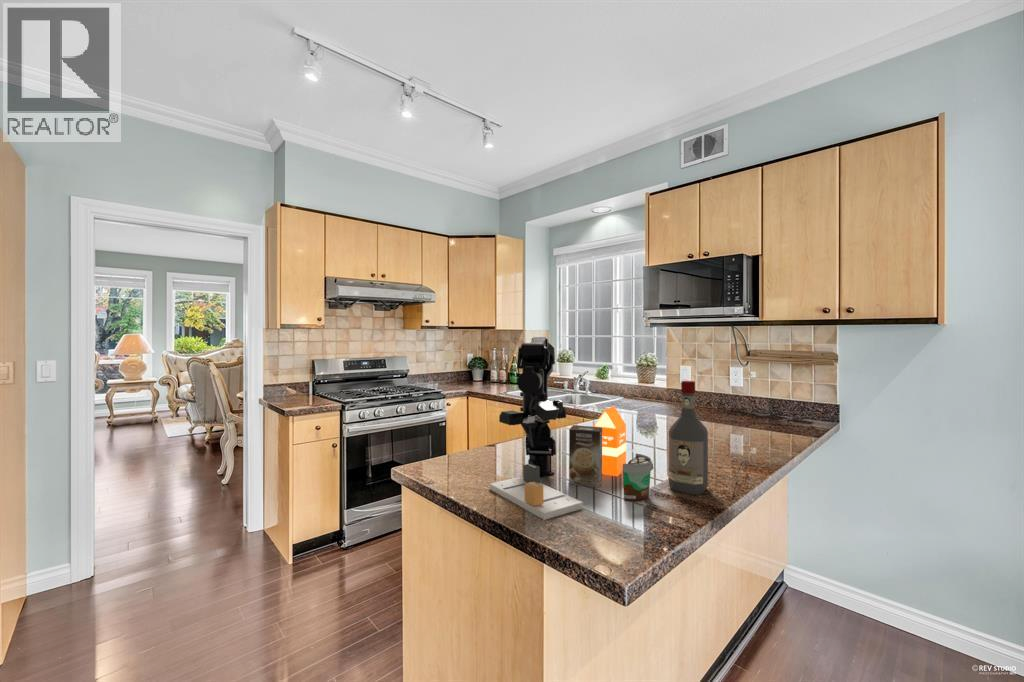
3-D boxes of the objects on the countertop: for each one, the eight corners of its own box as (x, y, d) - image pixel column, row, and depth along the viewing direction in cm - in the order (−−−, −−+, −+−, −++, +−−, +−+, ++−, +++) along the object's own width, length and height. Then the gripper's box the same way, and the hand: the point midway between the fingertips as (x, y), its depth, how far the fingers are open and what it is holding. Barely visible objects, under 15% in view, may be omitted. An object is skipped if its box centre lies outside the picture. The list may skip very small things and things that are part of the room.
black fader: (531, 478, 129) (531, 462, 128) (539, 482, 125) (539, 466, 125) (523, 480, 127) (523, 464, 127) (531, 484, 124) (531, 467, 124)
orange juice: (626, 469, 143) (626, 406, 143) (617, 476, 136) (616, 410, 136) (603, 465, 148) (603, 404, 147) (592, 472, 140) (592, 408, 140)
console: (524, 481, 132) (524, 475, 132) (582, 508, 111) (582, 501, 111) (489, 489, 126) (489, 483, 126) (544, 519, 105) (544, 512, 105)
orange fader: (533, 498, 113) (533, 480, 113) (543, 503, 110) (543, 485, 109) (524, 501, 111) (524, 482, 111) (534, 506, 108) (534, 487, 108)
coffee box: (567, 484, 129) (567, 429, 129) (572, 477, 135) (572, 424, 135) (600, 487, 126) (599, 431, 126) (603, 480, 132) (602, 426, 132)
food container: (646, 507, 112) (646, 467, 112) (622, 502, 115) (622, 463, 115) (658, 492, 122) (658, 455, 122) (636, 488, 126) (636, 452, 125)
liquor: (676, 481, 131) (675, 379, 131) (709, 487, 126) (709, 380, 126) (666, 490, 124) (666, 382, 123) (701, 497, 119) (701, 384, 118)
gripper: (522, 395, 109) (522, 458, 109) (579, 389, 119) (579, 447, 120) (498, 390, 119) (498, 449, 119) (553, 385, 129) (553, 439, 129)
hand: (533, 446), depth 121 cm, fingers closed
